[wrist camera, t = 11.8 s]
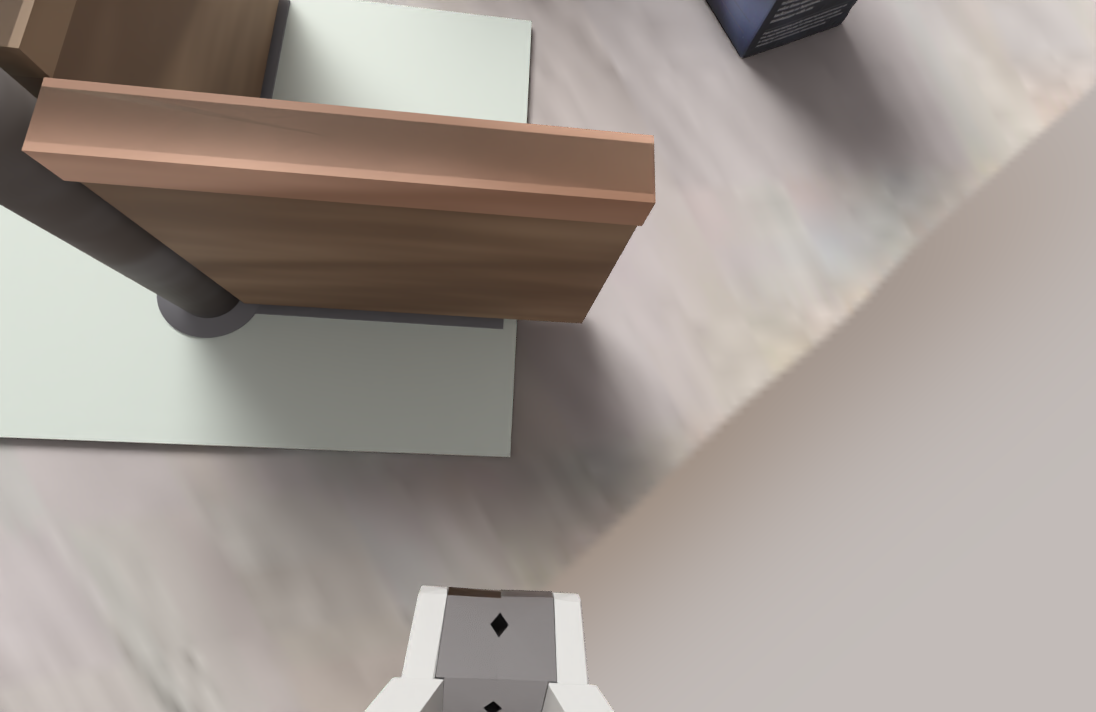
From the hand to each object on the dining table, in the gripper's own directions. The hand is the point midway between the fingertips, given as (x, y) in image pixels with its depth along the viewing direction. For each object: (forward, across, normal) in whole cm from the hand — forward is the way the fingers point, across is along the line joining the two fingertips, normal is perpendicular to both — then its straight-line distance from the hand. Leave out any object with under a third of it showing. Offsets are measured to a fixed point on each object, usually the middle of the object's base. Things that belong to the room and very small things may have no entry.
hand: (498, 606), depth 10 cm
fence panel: (+11, +4, -1) cm, 12 cm away
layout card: (+15, +12, -3) cm, 19 cm away
